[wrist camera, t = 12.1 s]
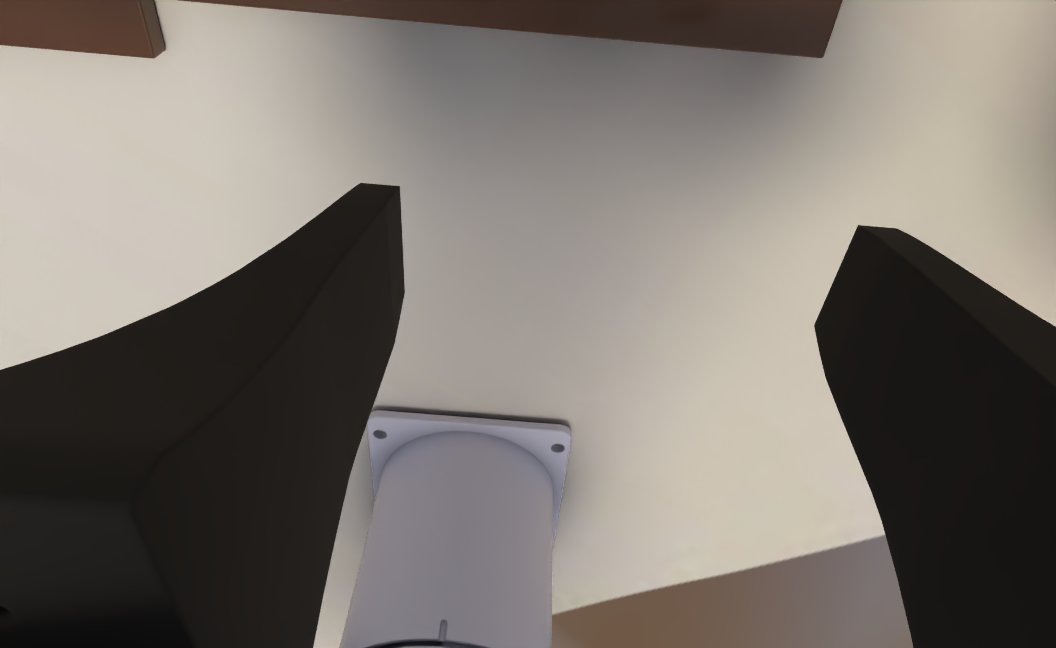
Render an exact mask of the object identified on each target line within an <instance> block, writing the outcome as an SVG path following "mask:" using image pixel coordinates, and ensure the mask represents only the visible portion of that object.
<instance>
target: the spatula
mask: <svg viewBox="0 0 1056 648" xmlns="http://www.w3.org/2000/svg"><path fill="white" fill-rule="evenodd" d="M179 1H190V2H201V3H212V4H223V5H235V6H246V7H257V8H268V9H279V10H290V11H301V12H312V13H324V14H335V15H346V16H357V17H368V18H379V19H390V20H402V21H413V22H424V23H435V24H446V25H457V26H468V27H480V28H491V29H502V30H513V31H524V32H535V33H546V34H558V35H569V36H580V37H591V38H602V39H613V40H624V41H635V42H647V43H658V44H669V45H680V46H691V47H702V48H713V49H725V50H736V51H747V52H758V53H769V54H780V55H791V56H803V57H814V58H822V57H823V56H824V54H825V51H826V48H827V45H828V42H829V39H830V36H831V33H832V30H833V27H834V24H835V21H836V18H837V15H838V12H839V10H840V7H841V4H842V1H843V0H179ZM0 45H7V46H18V47H29V48H41V49H52V50H63V51H75V52H86V53H98V54H109V55H120V56H132V57H143V58H156V57H157V56H158V55H160V54H161V53H162V52H163V51H165V46H164V42H163V38H162V34H161V30H160V26H159V22H158V18H157V14H156V10H155V6H154V2H153V0H0Z"/></svg>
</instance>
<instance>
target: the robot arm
mask: <svg viewBox="0 0 1056 648" xmlns="http://www.w3.org/2000/svg"><path fill="white" fill-rule="evenodd" d="M404 293H405V289H404V267H403V245H402V224H401V202H400V186H390V185H378V184H367V183H360V184H358V185H357V186H355V187H354V188H353V189H351V190H350V191H349V192H347V193H346V194H345V195H343V196H342V197H341V198H340V199H338V200H337V201H336V202H334V203H333V204H332V205H331V206H329V207H328V208H327V209H325V210H324V211H323V212H322V213H320V214H319V215H318V216H316V217H315V218H314V219H312V220H311V221H310V222H308V223H307V224H305V225H304V226H303V227H301V228H300V229H299V230H297V231H296V232H295V233H293V234H292V235H291V236H289V237H288V238H287V239H285V240H284V241H282V242H281V243H279V244H278V245H276V246H275V247H273V248H272V249H270V250H268V251H267V252H265V253H264V254H262V255H261V256H259V257H258V258H256V259H255V260H253V261H252V262H250V263H249V264H247V265H246V266H244V267H243V268H241V269H240V270H238V271H236V272H235V273H233V274H231V275H229V276H228V277H226V278H224V279H223V280H221V281H219V282H217V283H215V284H214V285H212V286H210V287H208V288H206V289H204V290H202V291H200V292H198V293H197V294H195V295H193V296H191V297H189V298H187V299H185V300H183V301H181V302H179V303H177V304H175V305H173V306H171V307H169V308H166V309H164V310H162V311H159V312H157V313H155V314H152V315H150V316H148V317H145V318H143V319H141V320H138V321H136V322H134V323H131V324H129V325H127V326H124V327H122V328H120V329H117V330H115V331H113V332H110V333H108V334H105V335H103V336H100V337H98V338H95V339H92V340H89V341H87V342H84V343H81V344H78V345H75V346H73V347H70V348H67V349H64V350H62V351H59V352H55V353H52V354H49V355H46V356H43V357H40V358H37V359H34V360H31V361H28V362H25V363H22V364H18V365H15V366H12V367H8V368H5V369H2V370H0V648H313V645H314V640H315V635H316V630H317V625H318V620H319V615H320V609H321V604H322V599H323V594H324V589H325V585H326V580H327V575H328V571H329V566H330V561H331V556H332V552H333V547H334V542H335V538H336V533H337V529H338V524H339V520H340V515H341V511H342V507H343V502H344V498H345V494H346V489H347V485H348V480H349V477H350V473H351V470H352V467H353V463H354V460H355V456H356V453H357V450H358V447H359V444H360V442H361V439H362V436H363V433H364V430H365V427H366V424H367V432H368V442H369V451H370V461H371V470H372V480H373V489H374V499H375V505H374V509H373V513H372V517H371V521H370V525H369V529H368V533H367V537H366V541H365V545H364V549H363V553H362V558H361V562H360V566H359V570H358V574H357V578H356V582H355V586H354V590H353V594H352V598H351V602H350V606H349V611H348V615H347V619H346V623H345V627H344V631H343V635H342V639H341V643H340V647H339V648H551V630H552V626H551V625H552V621H551V620H552V551H553V545H554V539H555V533H556V528H557V522H558V516H559V510H560V505H561V499H562V493H563V487H564V482H565V476H566V470H567V464H568V459H569V453H570V447H571V442H572V433H571V430H570V429H569V428H568V427H567V426H565V425H560V424H547V423H534V422H521V421H509V420H496V419H483V418H470V417H458V416H445V415H432V414H419V413H407V412H394V411H381V410H380V411H374V412H371V410H372V407H373V404H374V402H375V399H376V396H377V393H378V390H379V387H380V384H381V382H382V379H383V376H384V373H385V370H386V367H387V364H388V361H389V358H390V355H391V352H392V349H393V346H394V343H395V338H396V334H397V329H398V324H399V319H400V314H401V309H402V303H403V298H404ZM814 327H815V332H816V337H817V342H818V347H819V352H820V356H821V360H822V364H823V369H824V373H825V377H826V380H827V382H828V385H829V388H830V390H831V393H832V395H833V398H834V401H835V403H836V406H837V408H838V411H839V413H840V416H841V418H842V421H843V423H844V426H845V428H846V431H847V433H848V435H849V438H850V440H851V443H852V445H853V448H854V450H855V453H856V455H857V457H858V460H859V462H860V465H861V467H862V470H863V472H864V475H865V477H866V480H867V482H868V484H869V487H870V489H871V492H872V494H873V497H874V500H875V503H876V506H877V509H878V511H879V514H880V517H881V520H882V524H883V527H884V531H885V534H886V538H887V542H888V545H889V549H890V553H891V556H892V560H893V564H894V567H895V571H896V574H897V578H898V582H899V587H900V591H901V595H902V599H903V604H904V608H905V612H906V616H907V620H908V625H909V629H910V632H911V638H912V642H913V648H1056V327H1055V326H1053V325H1052V324H1050V323H1048V322H1047V321H1045V320H1043V319H1042V318H1040V317H1038V316H1037V315H1035V314H1034V313H1032V312H1030V311H1029V310H1027V309H1026V308H1024V307H1022V306H1021V305H1019V304H1018V303H1016V302H1015V301H1013V300H1011V299H1010V298H1008V297H1007V296H1005V295H1004V294H1002V293H1001V292H999V291H998V290H996V289H994V288H993V287H991V286H990V285H988V284H987V283H985V282H984V281H982V280H981V279H979V278H978V277H976V276H975V275H973V274H972V273H970V272H969V271H967V270H965V269H964V268H962V267H961V266H959V265H958V264H956V263H955V262H953V261H952V260H950V259H949V258H947V257H946V256H944V255H942V254H941V253H939V252H938V251H936V250H934V249H933V248H931V247H930V246H928V245H926V244H925V243H923V242H921V241H920V240H918V239H916V238H914V237H913V236H911V235H909V234H907V233H905V232H903V231H901V230H899V229H896V228H884V227H873V226H861V225H858V227H857V229H856V231H855V234H854V236H853V238H852V240H851V243H850V245H849V247H848V250H847V252H846V254H845V256H844V259H843V261H842V263H841V266H840V268H839V270H838V272H837V275H836V277H835V279H834V281H833V284H832V286H831V288H830V291H829V293H828V295H827V297H826V300H825V302H824V304H823V307H822V309H821V311H820V313H819V316H818V318H817V320H816V323H815V325H814ZM379 430H382V431H379ZM555 444H561V445H555Z"/></svg>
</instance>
